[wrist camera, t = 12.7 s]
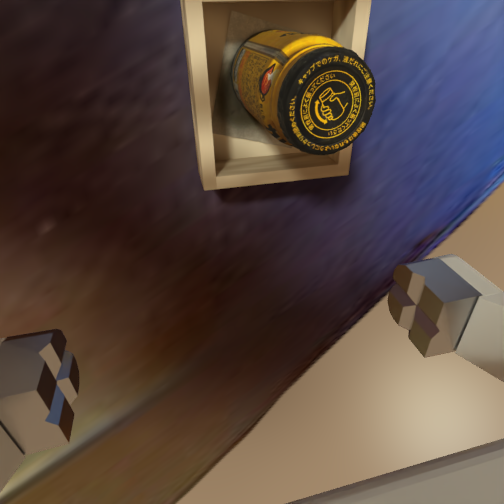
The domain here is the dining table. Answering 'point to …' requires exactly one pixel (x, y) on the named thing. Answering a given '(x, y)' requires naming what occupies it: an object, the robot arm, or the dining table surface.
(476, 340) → the robot arm
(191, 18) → the caddy
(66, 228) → the dining table surface
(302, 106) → the condiment
